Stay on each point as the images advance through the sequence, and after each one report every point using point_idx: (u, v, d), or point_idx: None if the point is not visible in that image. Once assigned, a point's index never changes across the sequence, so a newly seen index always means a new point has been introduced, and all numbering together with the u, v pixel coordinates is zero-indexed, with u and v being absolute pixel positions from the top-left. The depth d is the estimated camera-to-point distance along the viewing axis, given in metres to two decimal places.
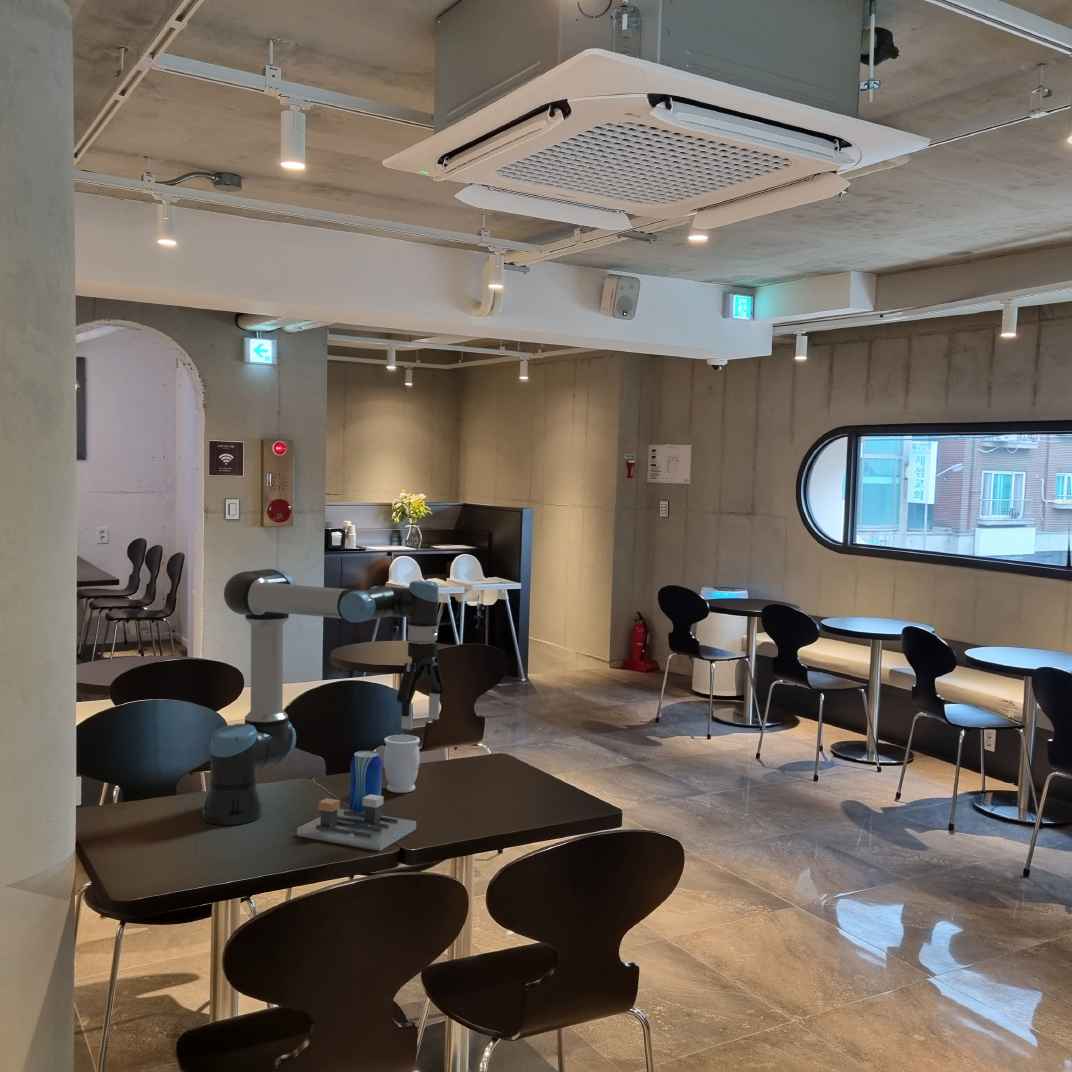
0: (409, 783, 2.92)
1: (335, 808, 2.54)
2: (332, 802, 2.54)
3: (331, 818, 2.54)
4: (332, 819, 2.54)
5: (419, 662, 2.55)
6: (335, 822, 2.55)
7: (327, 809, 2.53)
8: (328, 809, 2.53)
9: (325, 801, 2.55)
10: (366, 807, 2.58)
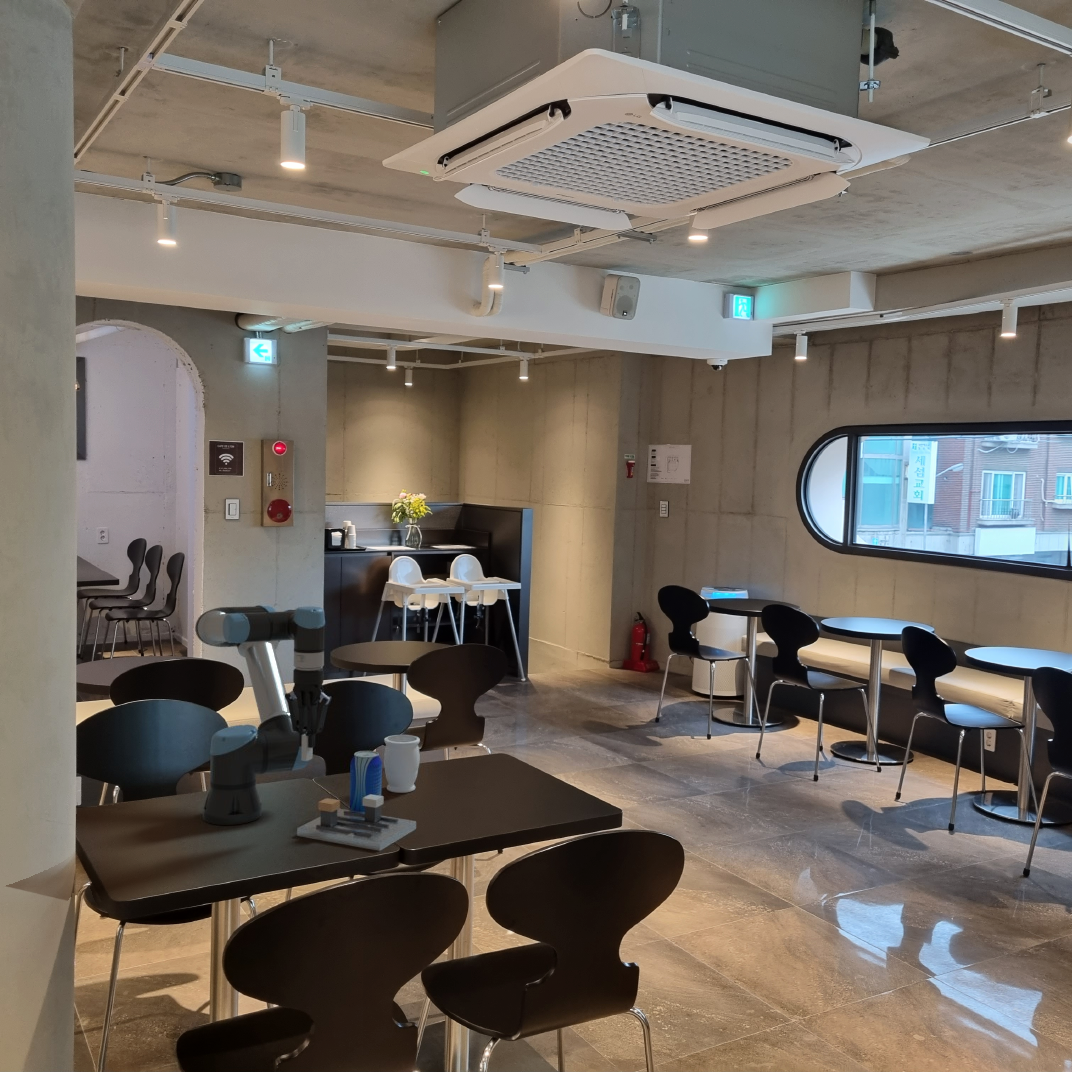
0: (409, 783, 2.92)
1: (335, 808, 2.54)
2: (332, 802, 2.54)
3: (331, 818, 2.54)
4: (332, 819, 2.54)
5: (293, 687, 2.57)
6: (335, 822, 2.55)
7: (327, 809, 2.53)
8: (328, 809, 2.53)
9: (325, 801, 2.55)
10: (366, 807, 2.58)
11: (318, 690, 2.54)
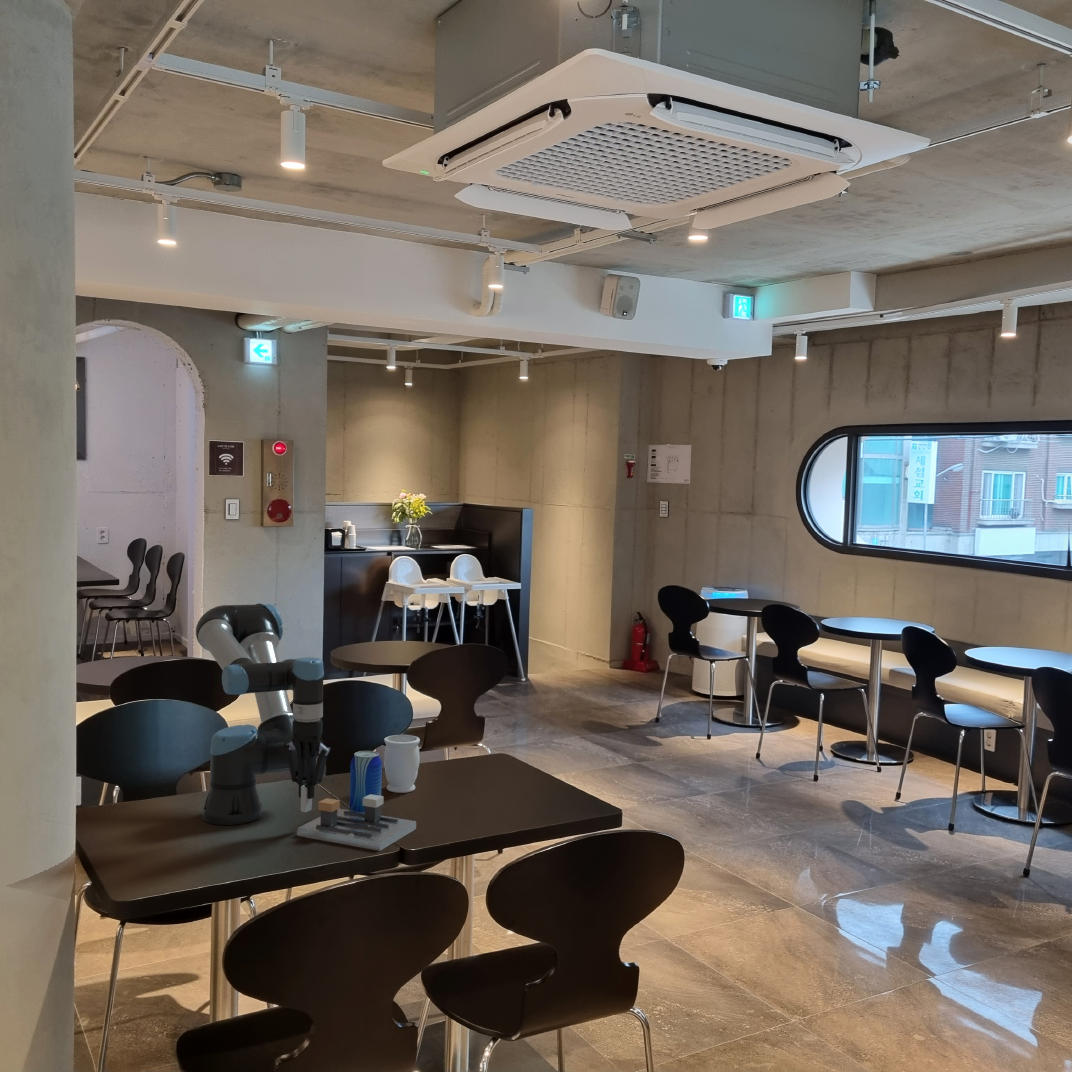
0: (409, 783, 2.92)
1: (335, 808, 2.54)
2: (332, 802, 2.54)
3: (331, 818, 2.54)
4: (332, 819, 2.54)
5: (292, 738, 2.57)
6: (335, 822, 2.55)
7: (327, 809, 2.53)
8: (328, 809, 2.53)
9: (325, 801, 2.55)
10: (366, 807, 2.58)
11: (317, 741, 2.55)
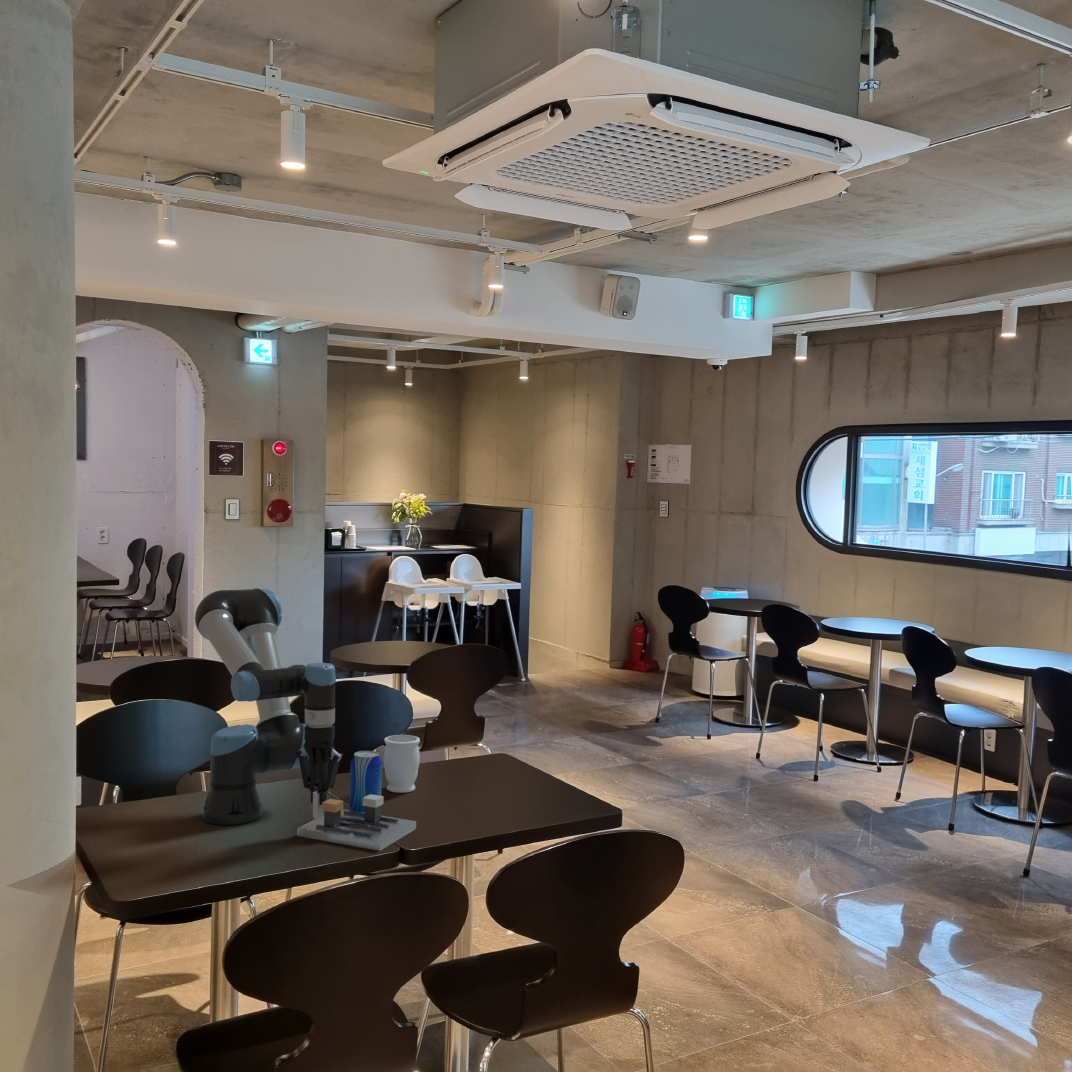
0: (409, 783, 2.92)
1: (339, 809, 2.54)
2: (336, 803, 2.54)
3: (335, 819, 2.53)
4: (335, 820, 2.53)
5: (304, 744, 2.56)
6: (339, 823, 2.55)
7: (331, 810, 2.53)
8: (332, 810, 2.53)
9: (328, 802, 2.54)
10: (366, 807, 2.58)
11: (329, 747, 2.53)
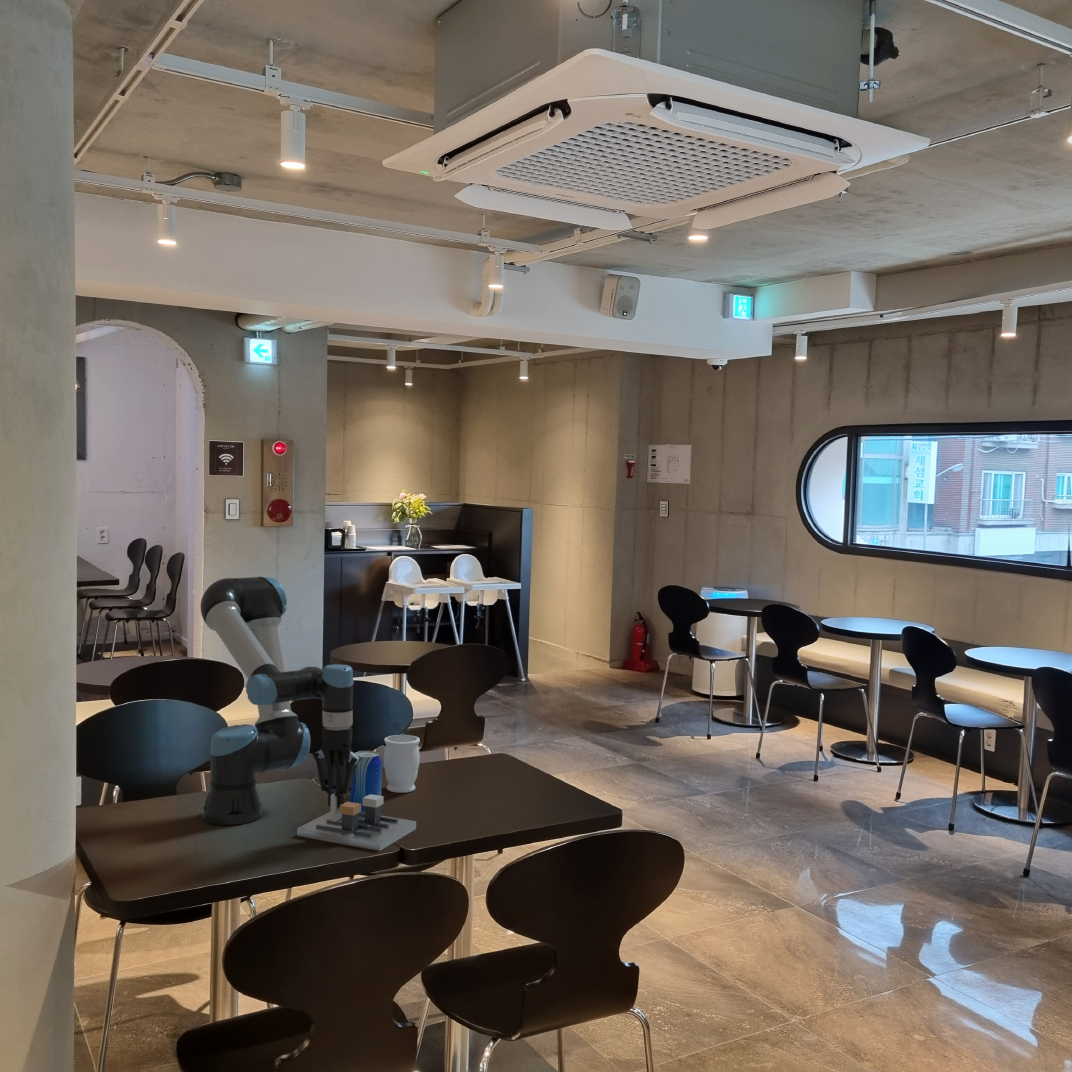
0: (409, 783, 2.92)
1: (356, 812, 2.52)
2: (353, 805, 2.52)
3: (352, 822, 2.51)
4: (353, 823, 2.51)
5: (322, 746, 2.54)
6: (356, 826, 2.53)
7: (348, 813, 2.51)
8: (349, 813, 2.51)
9: (346, 804, 2.52)
10: (366, 807, 2.58)
11: (347, 750, 2.51)
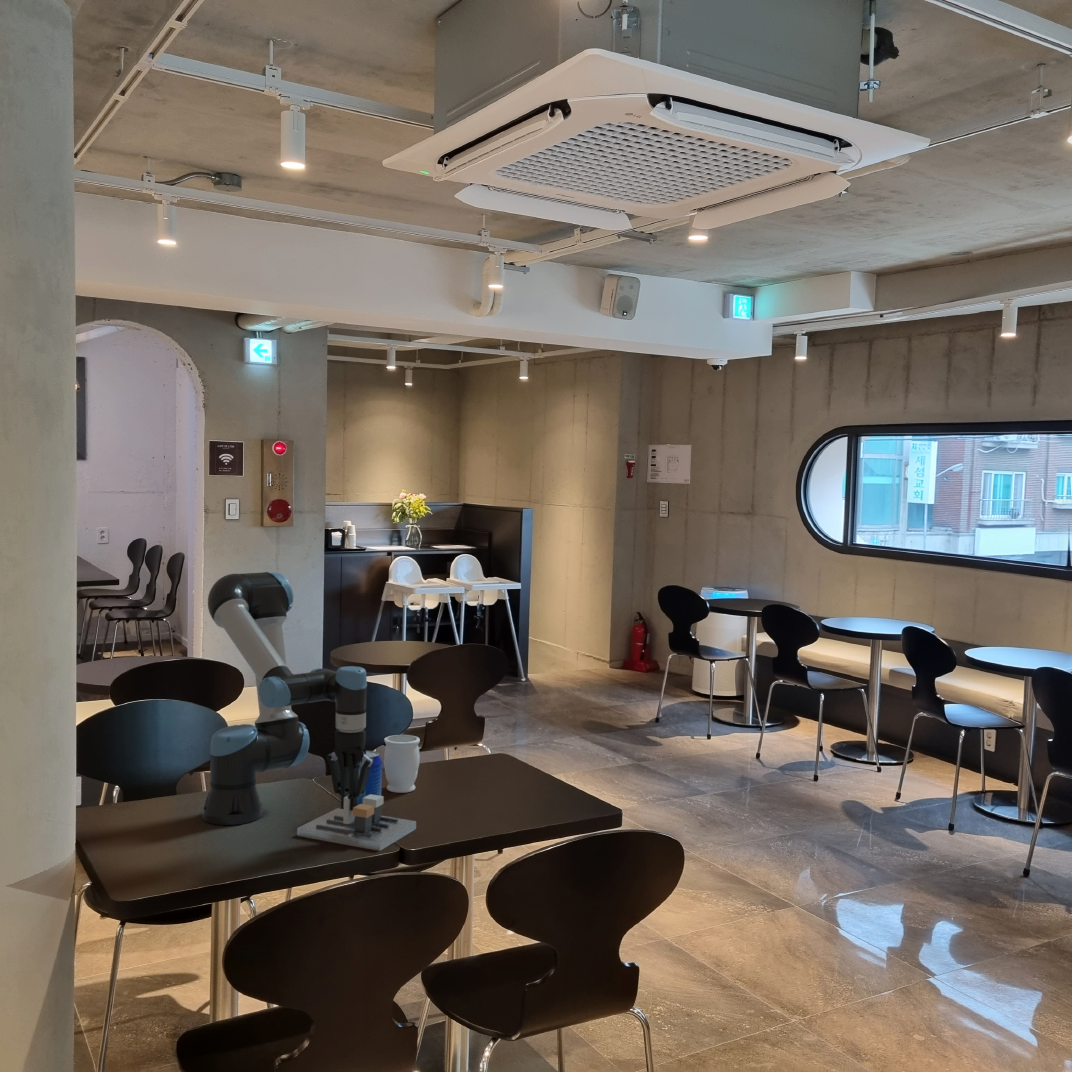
0: (409, 783, 2.92)
1: (370, 814, 2.50)
2: (367, 808, 2.50)
3: (366, 824, 2.50)
4: (366, 825, 2.50)
5: (335, 748, 2.53)
6: (369, 828, 2.51)
7: (362, 815, 2.49)
8: (363, 815, 2.49)
9: (359, 807, 2.51)
10: None
11: (360, 752, 2.50)
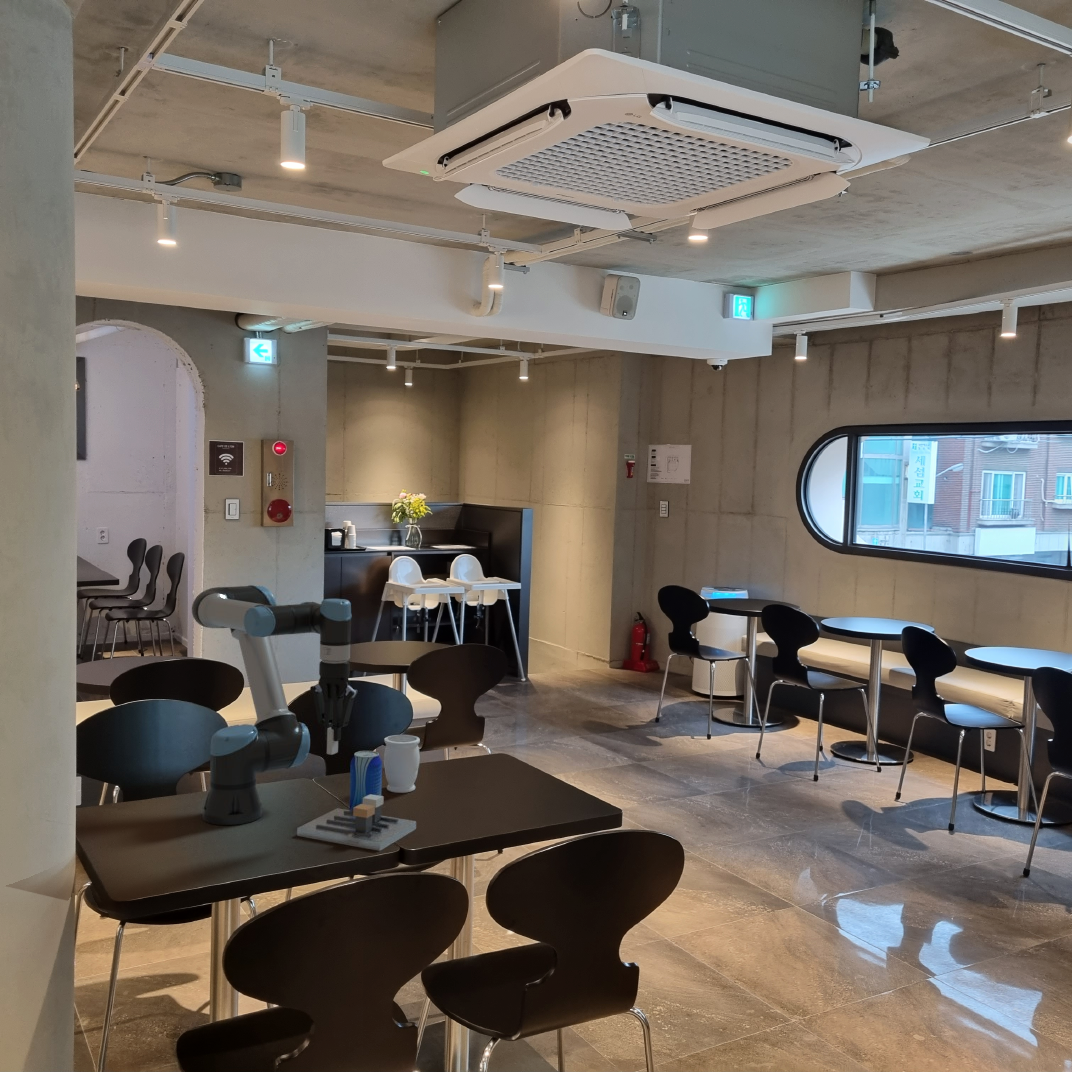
0: (409, 783, 2.92)
1: (370, 814, 2.50)
2: (367, 808, 2.50)
3: (366, 824, 2.50)
4: (367, 825, 2.50)
5: (319, 680, 2.54)
6: (370, 828, 2.51)
7: (362, 815, 2.49)
8: (363, 815, 2.49)
9: (360, 807, 2.51)
10: None
11: (344, 683, 2.52)
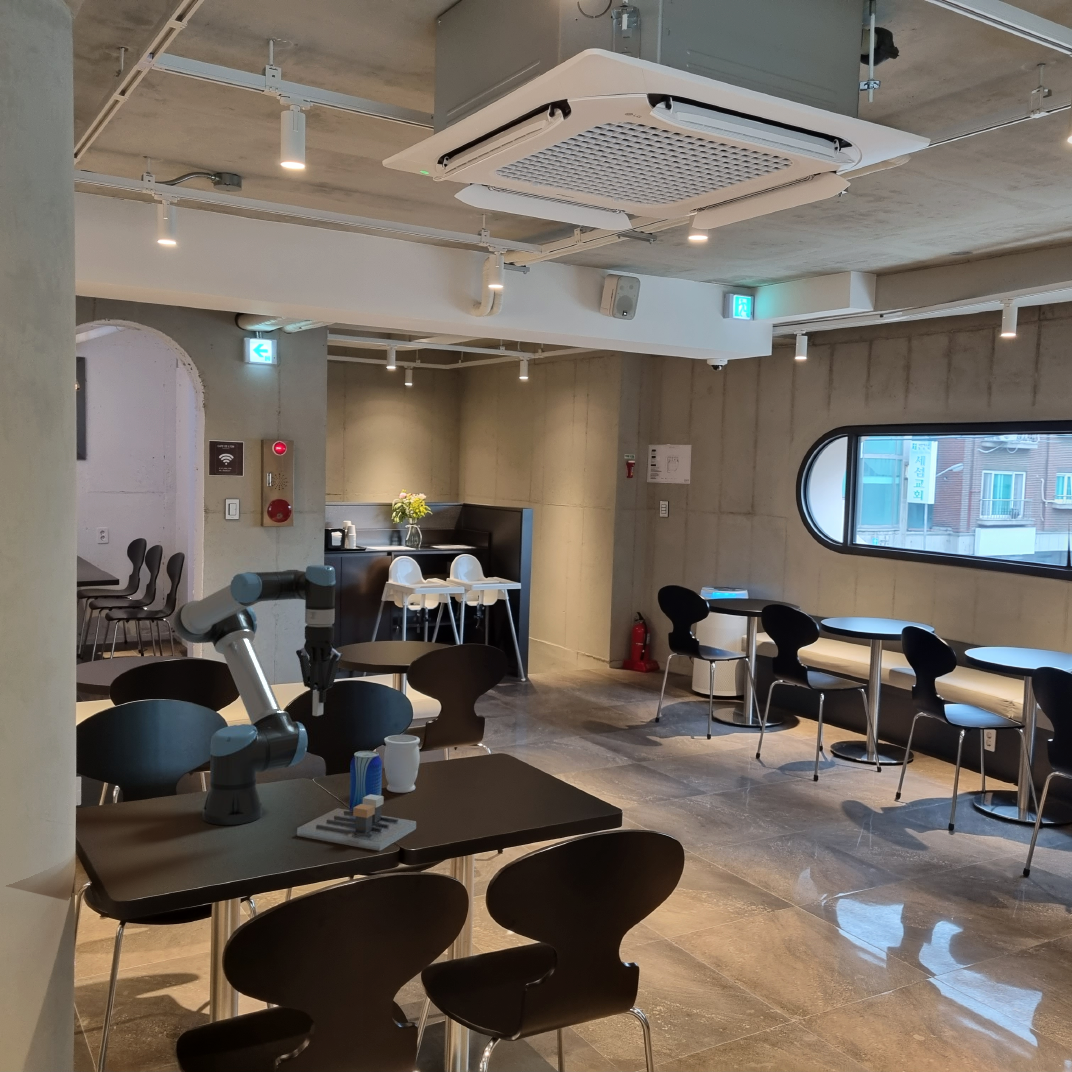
0: (409, 783, 2.92)
1: (370, 814, 2.50)
2: (367, 808, 2.50)
3: (366, 824, 2.50)
4: (367, 825, 2.50)
5: (304, 644, 2.62)
6: (370, 828, 2.51)
7: (362, 815, 2.49)
8: (363, 815, 2.49)
9: (360, 807, 2.51)
10: None
11: (329, 646, 2.60)
